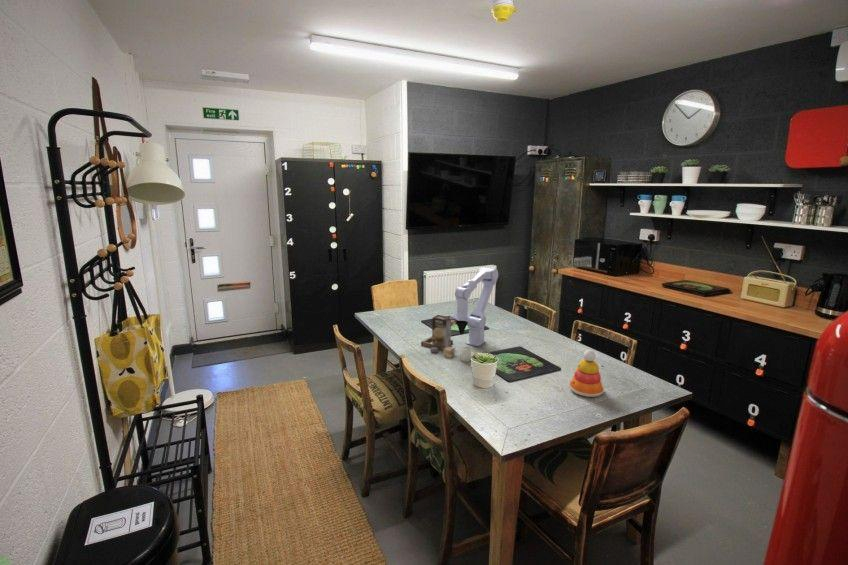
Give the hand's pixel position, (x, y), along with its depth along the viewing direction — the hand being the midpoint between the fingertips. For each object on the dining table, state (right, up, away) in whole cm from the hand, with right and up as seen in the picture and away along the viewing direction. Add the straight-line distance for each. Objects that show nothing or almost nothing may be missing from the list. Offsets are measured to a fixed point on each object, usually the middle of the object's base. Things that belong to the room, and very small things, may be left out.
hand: (461, 333), depth 222 cm
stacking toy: (+50, -20, -42) cm, 69 cm away
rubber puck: (-15, -10, 0) cm, 18 cm away
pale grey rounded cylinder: (+1, -12, -10) cm, 16 cm away
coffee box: (-11, -8, +10) cm, 16 cm away
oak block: (-7, -11, -5) cm, 14 cm away
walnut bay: (-13, -7, +10) cm, 17 cm away
